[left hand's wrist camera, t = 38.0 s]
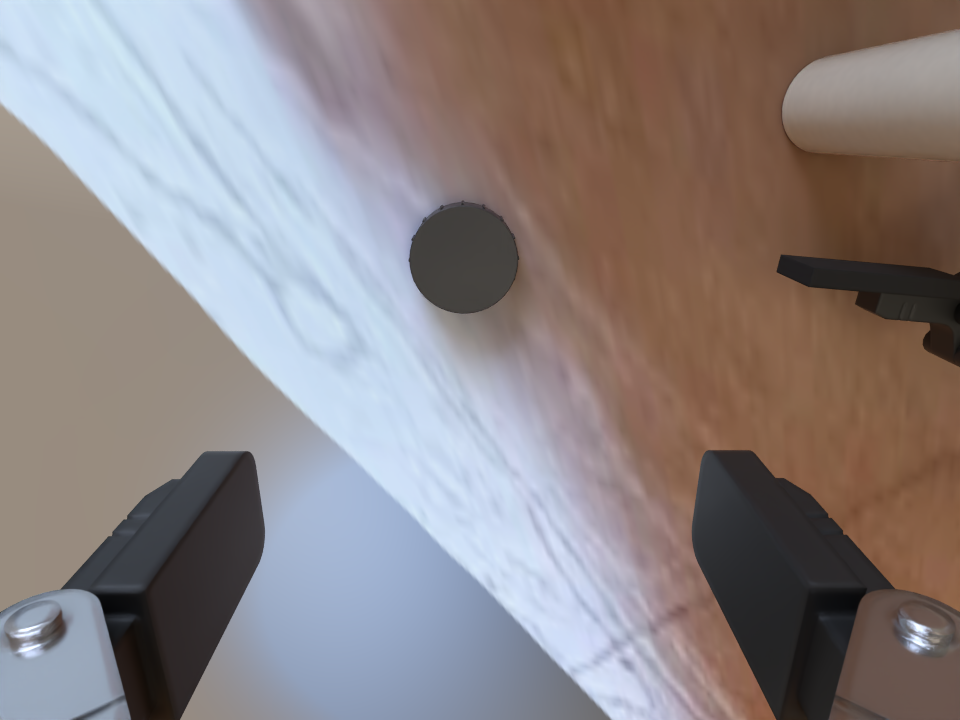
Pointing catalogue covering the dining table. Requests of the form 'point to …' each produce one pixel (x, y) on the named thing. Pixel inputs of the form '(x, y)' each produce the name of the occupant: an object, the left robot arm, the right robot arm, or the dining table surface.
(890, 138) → the beige cylinder
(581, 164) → the dining table surface
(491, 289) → the lid
